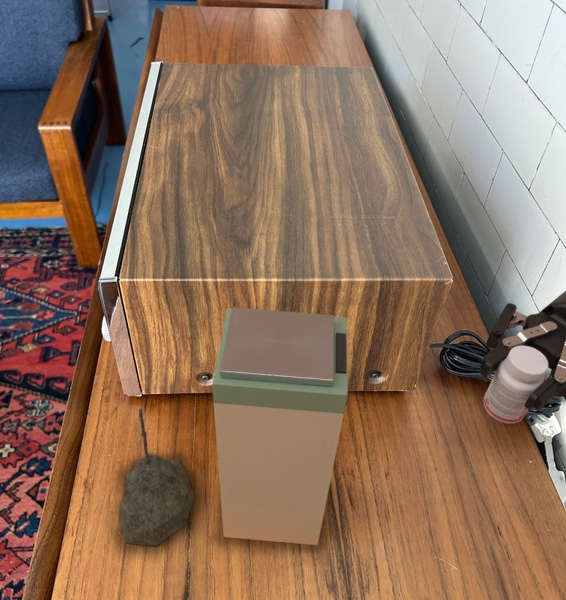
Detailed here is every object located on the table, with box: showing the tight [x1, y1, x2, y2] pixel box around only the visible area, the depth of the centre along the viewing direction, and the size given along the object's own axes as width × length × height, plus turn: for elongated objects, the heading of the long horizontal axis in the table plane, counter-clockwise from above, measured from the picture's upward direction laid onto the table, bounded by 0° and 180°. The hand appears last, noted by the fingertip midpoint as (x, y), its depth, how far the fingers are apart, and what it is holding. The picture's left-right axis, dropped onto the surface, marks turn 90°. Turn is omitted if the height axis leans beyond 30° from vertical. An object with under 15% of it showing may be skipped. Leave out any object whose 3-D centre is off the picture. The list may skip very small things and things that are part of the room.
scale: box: [211, 306, 349, 415], centre depth 45 cm, size 10×8×3 cm
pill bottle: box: [483, 346, 549, 424], centre depth 62 cm, size 5×5×8 cm
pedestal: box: [213, 402, 345, 546], centre depth 54 cm, size 10×8×24 cm
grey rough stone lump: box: [118, 408, 195, 547], centre depth 58 cm, size 10×8×12 cm
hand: (507, 386), depth 59 cm, fingers closed on pill bottle, 4 cm apart
